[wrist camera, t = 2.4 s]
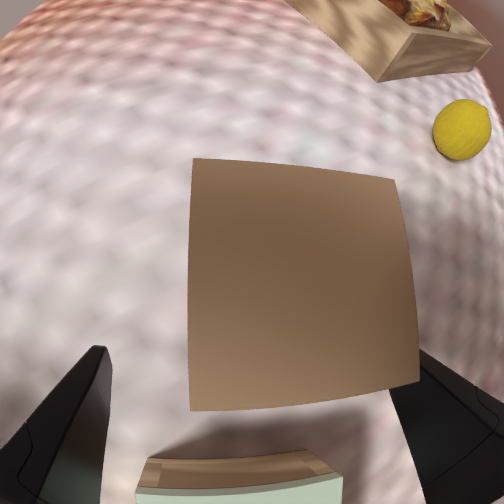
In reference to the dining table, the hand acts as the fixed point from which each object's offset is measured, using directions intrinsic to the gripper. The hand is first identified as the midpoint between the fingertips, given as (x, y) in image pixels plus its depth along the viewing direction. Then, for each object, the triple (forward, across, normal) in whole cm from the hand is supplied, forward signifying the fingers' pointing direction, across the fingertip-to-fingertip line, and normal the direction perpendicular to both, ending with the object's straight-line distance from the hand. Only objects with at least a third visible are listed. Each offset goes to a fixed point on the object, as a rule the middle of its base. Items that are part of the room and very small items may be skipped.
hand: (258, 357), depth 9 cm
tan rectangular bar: (+8, 0, +6) cm, 9 cm away
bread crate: (+40, -21, -26) cm, 53 cm away
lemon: (+19, -22, -6) cm, 30 cm away
